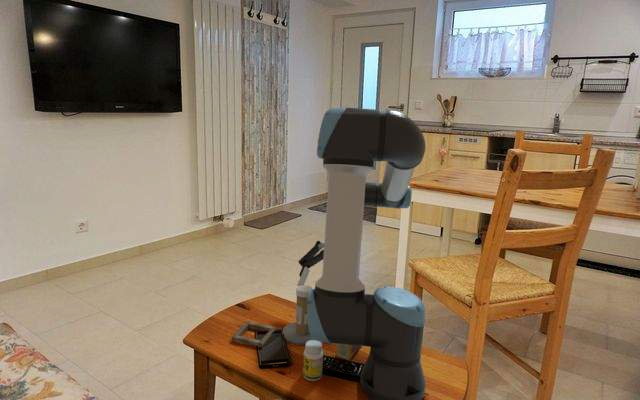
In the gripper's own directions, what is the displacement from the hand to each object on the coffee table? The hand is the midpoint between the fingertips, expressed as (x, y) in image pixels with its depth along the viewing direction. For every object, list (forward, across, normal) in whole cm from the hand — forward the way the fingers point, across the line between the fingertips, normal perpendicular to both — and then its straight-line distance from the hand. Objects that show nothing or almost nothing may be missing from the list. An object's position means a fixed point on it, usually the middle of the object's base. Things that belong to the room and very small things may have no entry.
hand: (319, 292), depth 127 cm
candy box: (+14, -15, 0) cm, 21 cm away
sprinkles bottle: (+13, 0, +1) cm, 13 cm away
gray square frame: (+19, +11, +6) cm, 23 cm away
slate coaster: (+14, 0, 0) cm, 14 cm away
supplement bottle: (+24, -12, +11) cm, 29 cm away
